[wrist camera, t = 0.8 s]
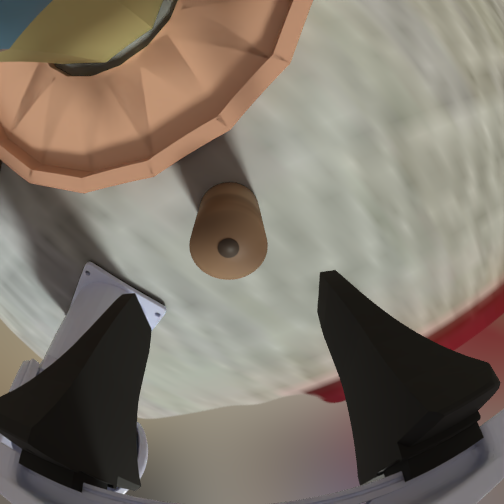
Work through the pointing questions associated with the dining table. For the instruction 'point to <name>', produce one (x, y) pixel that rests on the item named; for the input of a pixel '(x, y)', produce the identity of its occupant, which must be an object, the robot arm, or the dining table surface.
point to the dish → (146, 96)
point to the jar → (72, 29)
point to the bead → (228, 232)
